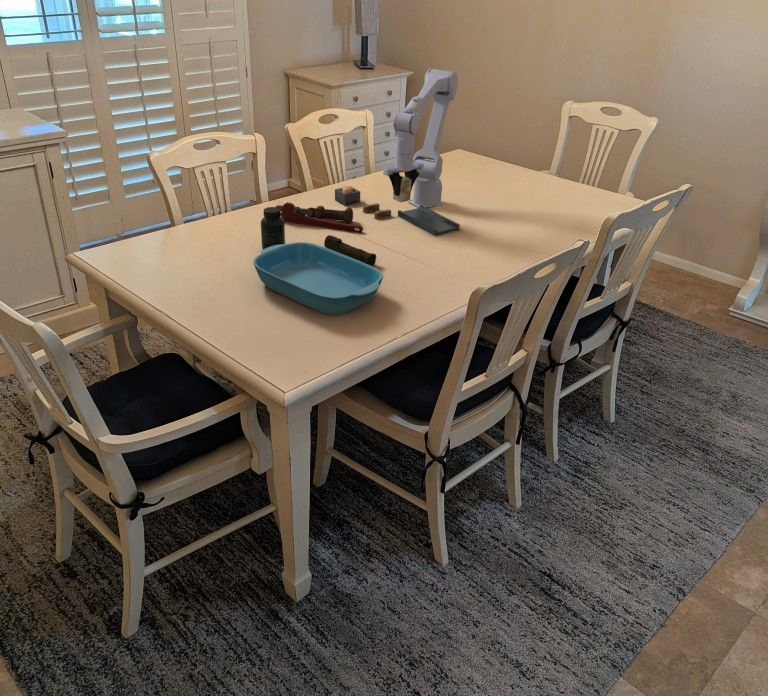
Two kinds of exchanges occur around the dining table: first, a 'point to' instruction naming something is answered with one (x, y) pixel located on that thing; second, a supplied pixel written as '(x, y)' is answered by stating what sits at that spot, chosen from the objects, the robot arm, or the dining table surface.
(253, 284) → the dining table surface
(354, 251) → the hand tool
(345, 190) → the release button
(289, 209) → the pipe wrench
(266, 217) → the supplement bottle
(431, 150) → the robot arm
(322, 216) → the bolt
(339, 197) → the button housing
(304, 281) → the casserole dish
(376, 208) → the socket
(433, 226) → the tray
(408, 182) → the peg
